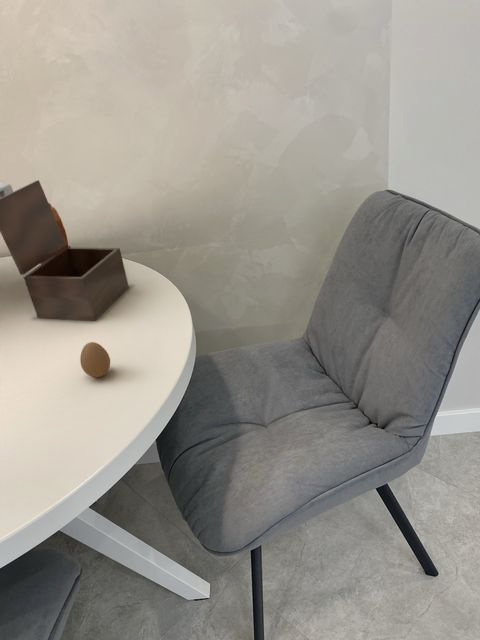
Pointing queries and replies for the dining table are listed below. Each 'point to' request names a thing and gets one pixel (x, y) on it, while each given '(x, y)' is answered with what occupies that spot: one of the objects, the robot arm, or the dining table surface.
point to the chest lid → (29, 227)
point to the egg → (94, 360)
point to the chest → (77, 283)
